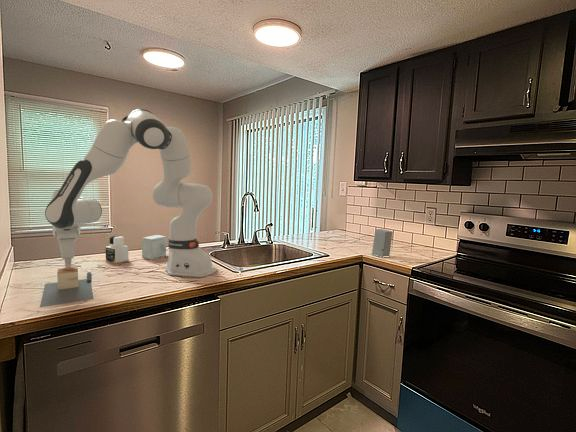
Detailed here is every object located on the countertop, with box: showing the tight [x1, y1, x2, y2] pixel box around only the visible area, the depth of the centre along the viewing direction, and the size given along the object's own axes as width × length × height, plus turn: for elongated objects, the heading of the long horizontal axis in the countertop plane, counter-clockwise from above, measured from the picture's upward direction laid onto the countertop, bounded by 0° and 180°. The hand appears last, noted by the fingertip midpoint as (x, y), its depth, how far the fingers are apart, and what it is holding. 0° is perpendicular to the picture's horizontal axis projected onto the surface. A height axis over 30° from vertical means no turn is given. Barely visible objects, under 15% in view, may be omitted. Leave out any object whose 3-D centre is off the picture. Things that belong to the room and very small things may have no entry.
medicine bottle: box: [105, 235, 129, 264], centre depth 150 cm, size 7×7×12 cm
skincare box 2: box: [371, 228, 394, 258], centre depth 184 cm, size 8×7×16 cm
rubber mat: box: [39, 278, 95, 308], centre depth 109 cm, size 24×14×1 cm, turn 35°
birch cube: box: [56, 266, 79, 290], centre depth 113 cm, size 6×6×6 cm
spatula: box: [80, 261, 98, 282], centre depth 130 cm, size 6×29×2 cm, turn 32°
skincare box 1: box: [141, 234, 167, 260], centre depth 161 cm, size 10×6×10 cm, turn 156°
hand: (68, 265), depth 122 cm, fingers open, 8 cm apart
